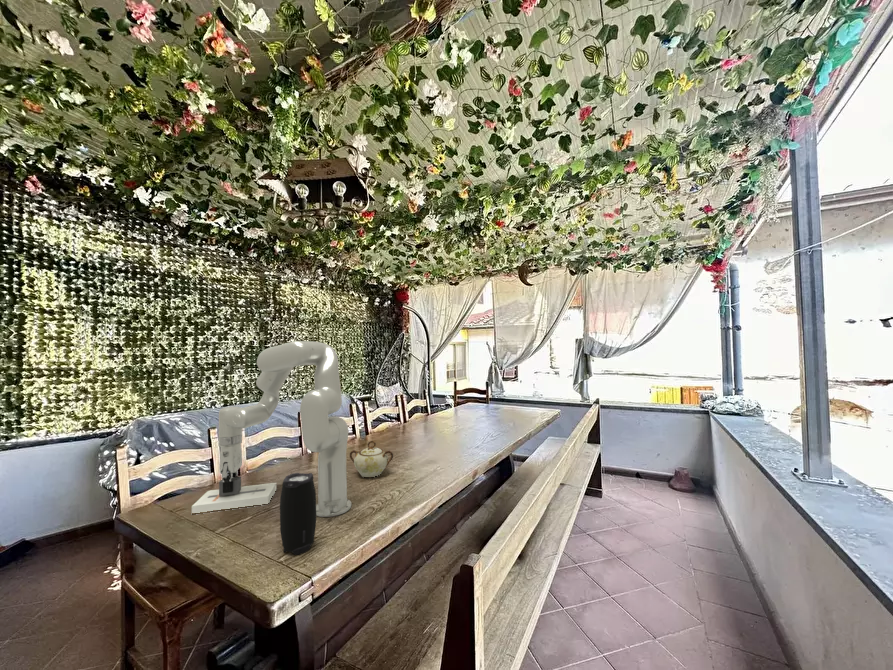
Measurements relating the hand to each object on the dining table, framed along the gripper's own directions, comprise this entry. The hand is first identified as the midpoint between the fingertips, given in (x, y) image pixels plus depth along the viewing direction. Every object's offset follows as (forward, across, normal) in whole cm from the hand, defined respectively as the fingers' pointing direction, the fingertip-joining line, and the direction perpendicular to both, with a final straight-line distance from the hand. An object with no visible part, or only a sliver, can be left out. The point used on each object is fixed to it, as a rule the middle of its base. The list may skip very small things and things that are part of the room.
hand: (230, 489), depth 126 cm
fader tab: (+1, 0, 0) cm, 1 cm away
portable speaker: (+5, -41, -30) cm, 51 cm away
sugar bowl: (+5, +11, -52) cm, 54 cm away
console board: (+5, 0, -2) cm, 5 cm away
